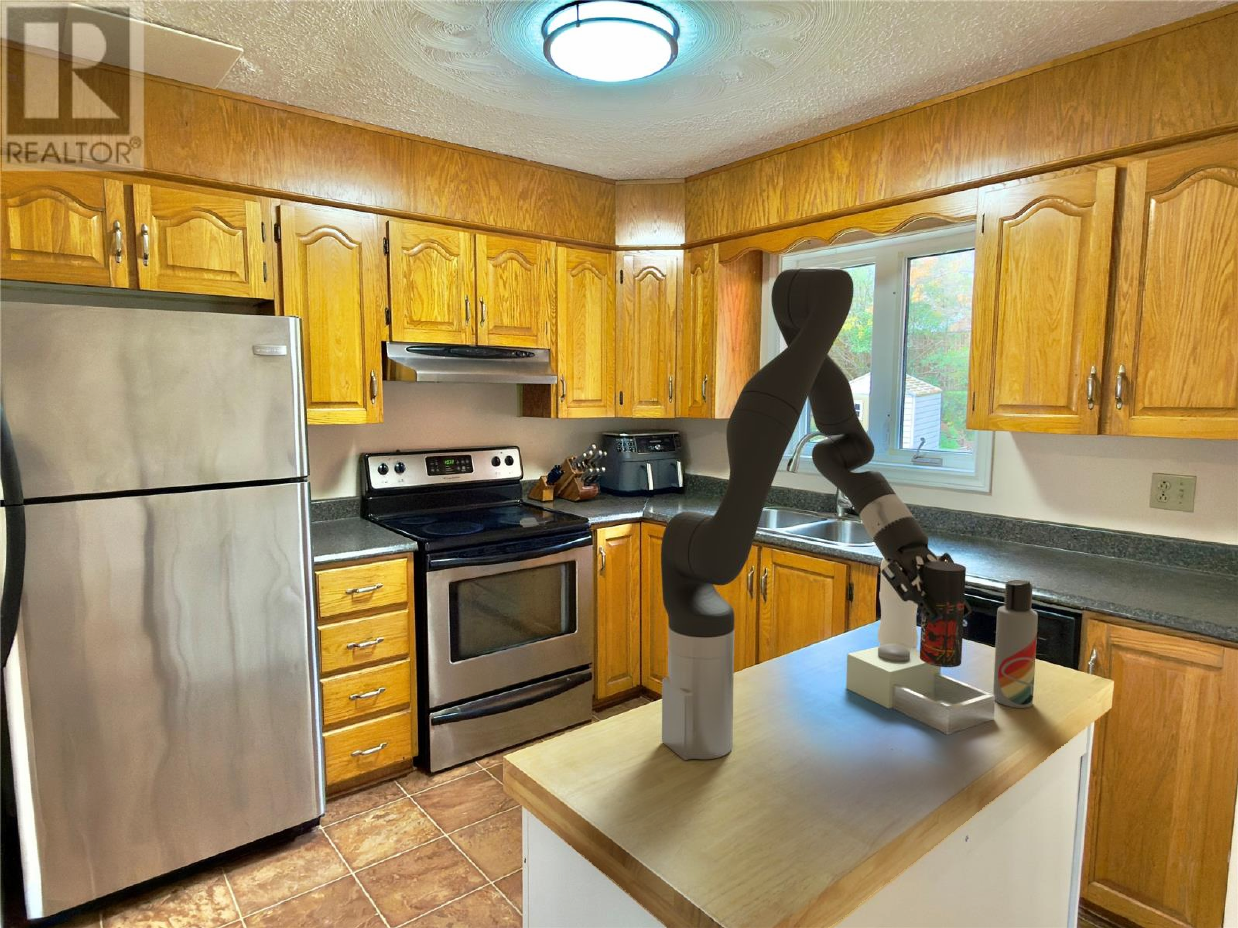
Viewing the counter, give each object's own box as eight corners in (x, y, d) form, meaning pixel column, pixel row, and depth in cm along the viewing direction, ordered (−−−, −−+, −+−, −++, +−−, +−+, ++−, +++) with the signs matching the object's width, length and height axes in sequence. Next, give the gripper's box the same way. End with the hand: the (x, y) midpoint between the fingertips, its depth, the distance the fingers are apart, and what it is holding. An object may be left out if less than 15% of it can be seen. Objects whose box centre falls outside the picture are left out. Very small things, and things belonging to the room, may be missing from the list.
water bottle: (905, 662, 133) (910, 530, 130) (870, 652, 138) (874, 524, 136) (924, 653, 137) (929, 525, 135) (889, 643, 143) (894, 520, 140)
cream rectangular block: (888, 708, 113) (890, 666, 113) (846, 688, 121) (847, 648, 121) (939, 693, 119) (941, 653, 118) (895, 675, 127) (897, 636, 126)
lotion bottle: (1029, 712, 112) (1037, 587, 110) (989, 702, 115) (996, 581, 114) (1035, 699, 117) (1042, 579, 115) (996, 691, 120) (1002, 574, 118)
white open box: (947, 734, 105) (948, 709, 104) (891, 707, 114) (892, 684, 113) (993, 719, 110) (995, 695, 109) (936, 694, 119) (937, 672, 118)
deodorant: (911, 655, 113) (915, 563, 112) (942, 651, 115) (946, 560, 114) (938, 669, 108) (942, 572, 106) (970, 664, 110) (975, 569, 108)
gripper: (874, 518, 112) (936, 613, 103) (936, 511, 119) (999, 599, 110) (848, 545, 118) (904, 637, 108) (909, 536, 124) (967, 622, 115)
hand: (952, 617), depth 109 cm, fingers closed on deodorant, 6 cm apart
